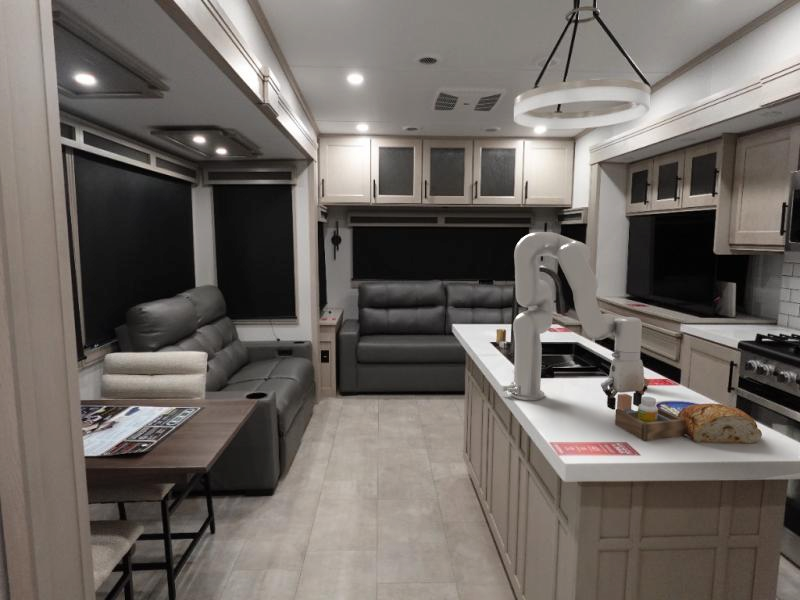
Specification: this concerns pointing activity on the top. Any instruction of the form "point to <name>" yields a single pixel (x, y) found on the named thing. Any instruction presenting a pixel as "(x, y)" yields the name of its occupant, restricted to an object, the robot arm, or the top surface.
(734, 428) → the bread
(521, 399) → the robot arm
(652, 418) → the supplement bottle
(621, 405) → the grey tray with handle
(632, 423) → the wooden tray
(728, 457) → the top surface
